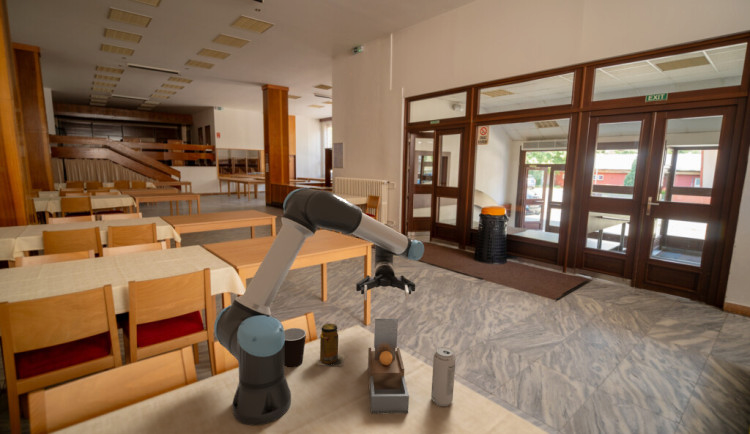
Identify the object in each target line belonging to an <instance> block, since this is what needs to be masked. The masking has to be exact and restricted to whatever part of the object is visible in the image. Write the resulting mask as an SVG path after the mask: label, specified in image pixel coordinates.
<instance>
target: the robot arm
mask: <svg viewBox="0 0 750 434" xmlns="http://www.w3.org/2000/svg"><path fill="white" fill-rule="evenodd" d="M282 208H283V215H282V216H281V218H280V221H281V223H282V226H281V228H280V230H279V231H278V233H277V235H276V237H275V238H274V240H273V242H272V244H271V245H270V247H269V249H268V251H267V253H266V254H265V256H264V258H263V259H262V261H261V263H260V264H259V266H258V268H257V270H256V272H255V274H254V275H253V277H252V279H251V281H250V283H249V284H248V286H247V288H246V290H245V291H244V293H243V294H242V295H240V296H236V297H235V298H234V300H233V302H232V303H231V304H230V305H228V306H227V307H224V308H223V309H222V310H221V311H219V313H218V314H217V316H216V318H215V320H214V324H213V332H214V335H215V338H216V339H217V341H218V342H219V344H220V345H221V346H222V347H223V348H225V350H226V351H228V352H229V353H230V355H232V356H233V357H234V358H235V359H236V361H237V364H238V384H237V387H236V390H235V393H234V397H233V400H232V403H231V404H232V414H233V417H234V419H235V420H237V422H239V423H242V424H243V425H250V426H258V425H264V424H268V423H271V422H274V421H276V420H278V419H279V418H282V416H283V415H284V414H286V413H287V411H288V410H289V408H290V406H291V403H292V393H291V390H290V387H289V384H288V381H287V379H286V377H285V376H286V375H285V366H284V342H285V334H284V330H285V328H284V325H283V324H282V322H281V320H278V319H277V318H276V317H273V316H272V311H271V309H270V307H271V305H272V303H273V302H274V300H275V298H276V296H277V294H278V292H279V290H280V289H281V287H282V285H283V283H284V281H285V279H286V277H287V275H288V274H289V272H290V270H291V268H292V266H293V264H294V262H295V261H296V259H297V256H298V255H299V253H300V251H301V249H302V248H303V246H304V244H305V242H306V240H307V239H308V238H311V237H314V236H315V233H316V232H317V230H318V228H319V229H325V230H330V231H334V232H335V231H336V232H339V233H341V234H344V235H348V236H349V235H354V236H355V237H358V238H360V239H362V240H365V241H366V242H370V243H371V244H374V276H373V277H371V276H370V275H368V274H367V275H366V277H365V278H363V279H362V280H360V281H358V282H356V284H355V286H356V287H355V288H356V290H355V291H356V292H360V294H361V295H363V298H364V299H363V300H364V301H367V299H368V298H367V297H368V291H370V290H372V289H375V288H380V287H383V288H388V287H391V288H396V289H399V290H401V291H404V295H405V299H406V301H409V300H410V295H412V292H416V283H415V282H413V281H412V280H409V279H408V278H406V277H405V276H404V275H400V276H399V277H398V276H396V274H395V270H394V269H395V268H394V256H396V257H400V258H403V259H406V260H407V259H408V260H410V261H419V260H420V259H421V258H422V257H423V256H424V253H425V246H424V243H423V242H422V241H420V240H417V239H412V238H410V237H409V236H406V235H405V234H403V233H400V232H399V231H397V230H395V229H394V228H391V227H389V226H387V225H386V224H384V223H382V222H381V221H379V220H377V219H375V218H373V217H372V216H369V215H367V214H366V213H364V212H363V210H362V209H361V208H360V207H359V206H357V205H356V204H355V203H353V202H351V201H349V200H347V199H346V198H344V197H342V196H340V195H338V194H337V193H335V192H332V191H329V190H322V189H321V190H320V189H312V188H309V187H303V188H297V189H294V190H292V191H291V192H289V193H288V194H287V196H286V197H285V199H284V201H283V205H282Z"/></svg>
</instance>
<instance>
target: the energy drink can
mask: <svg viewBox="0 0 750 434" xmlns="http://www.w3.org/2000/svg"><path fill="white" fill-rule="evenodd" d="M454 353H455V352H454V351H453V349H451V348H449V347H445V346H440V347H437V349H436V350H435V352H434V354H433V358H432V359H433V363H432V375H431V376H432V378H431V379H432V380H431V394H430V395H431V396H430V397H431V400H432V401H433V402H434V404H435V405H437V406H439V407H448V406H450V405H451V403H452V402H453V401H454V400H453V398H454V386H455V374H456V373H455V372H456V359H457V358H456V356H455V354H454Z"/></svg>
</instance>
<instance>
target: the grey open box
mask: <svg viewBox="0 0 750 434" xmlns="http://www.w3.org/2000/svg"><path fill="white" fill-rule="evenodd" d="M409 399H410V394H409V391H408V387H407V382H406V378H405V375H404V376H401V389H374V383H373V376H370V391H369V403H370V414H408V413H409V404H410V400H409Z"/></svg>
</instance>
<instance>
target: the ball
mask: <svg viewBox="0 0 750 434" xmlns="http://www.w3.org/2000/svg"><path fill="white" fill-rule="evenodd" d="M379 359H380V362H381V363H382V364H383V365H389V364H390V363H391V362H392V359H393V357H392V354H391V353H390V352H388V351H384V352H382V353H381V354H380V357H379Z"/></svg>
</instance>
